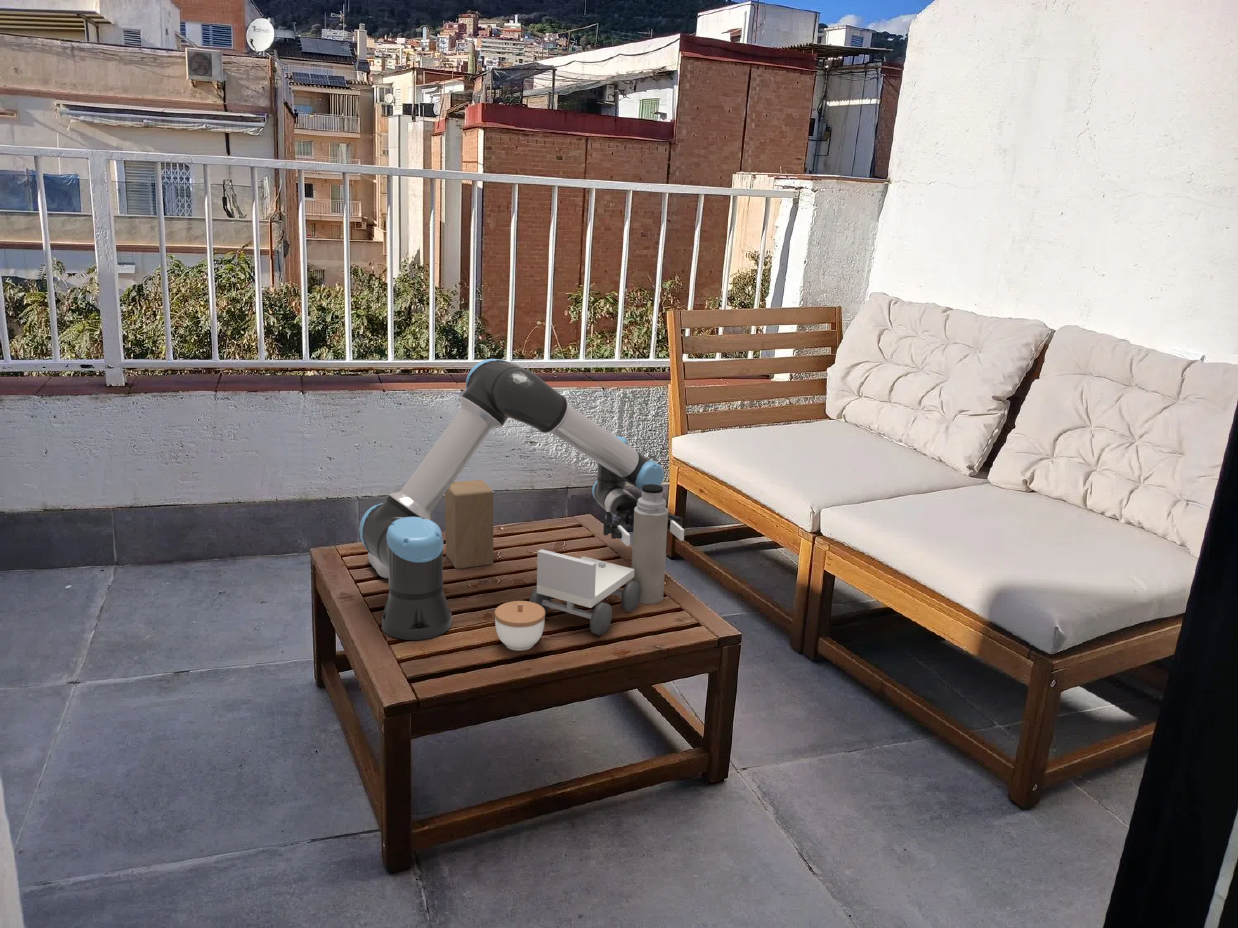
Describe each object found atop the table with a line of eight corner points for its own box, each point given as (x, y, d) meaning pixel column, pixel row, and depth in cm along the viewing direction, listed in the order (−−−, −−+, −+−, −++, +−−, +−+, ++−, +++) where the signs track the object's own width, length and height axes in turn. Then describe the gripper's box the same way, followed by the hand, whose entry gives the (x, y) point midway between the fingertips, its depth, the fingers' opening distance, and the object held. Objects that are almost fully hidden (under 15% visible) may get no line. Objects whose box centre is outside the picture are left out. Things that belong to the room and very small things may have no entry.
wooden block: (445, 555, 255) (444, 482, 249) (482, 550, 259) (482, 478, 253) (455, 569, 246) (454, 494, 240) (493, 564, 250) (493, 490, 244)
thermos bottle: (629, 589, 239) (634, 480, 231) (662, 590, 239) (668, 481, 231) (630, 603, 231) (636, 491, 223) (664, 604, 231) (670, 492, 223)
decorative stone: (359, 550, 249) (381, 518, 248) (391, 566, 254) (413, 535, 253) (371, 581, 234) (394, 548, 233) (406, 597, 240) (429, 565, 239)
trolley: (595, 640, 213) (598, 568, 208) (528, 620, 221) (529, 550, 216) (640, 605, 230) (643, 538, 225) (576, 588, 238) (578, 522, 233)
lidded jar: (484, 645, 208) (484, 605, 206) (516, 628, 217) (516, 589, 214) (523, 661, 203) (523, 620, 200) (554, 642, 211) (555, 602, 208)
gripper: (668, 517, 252) (703, 547, 233) (576, 526, 243) (604, 558, 224) (670, 490, 249) (705, 518, 230) (577, 497, 241) (605, 527, 222)
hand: (655, 538), depth 227 cm, fingers open, 13 cm apart
